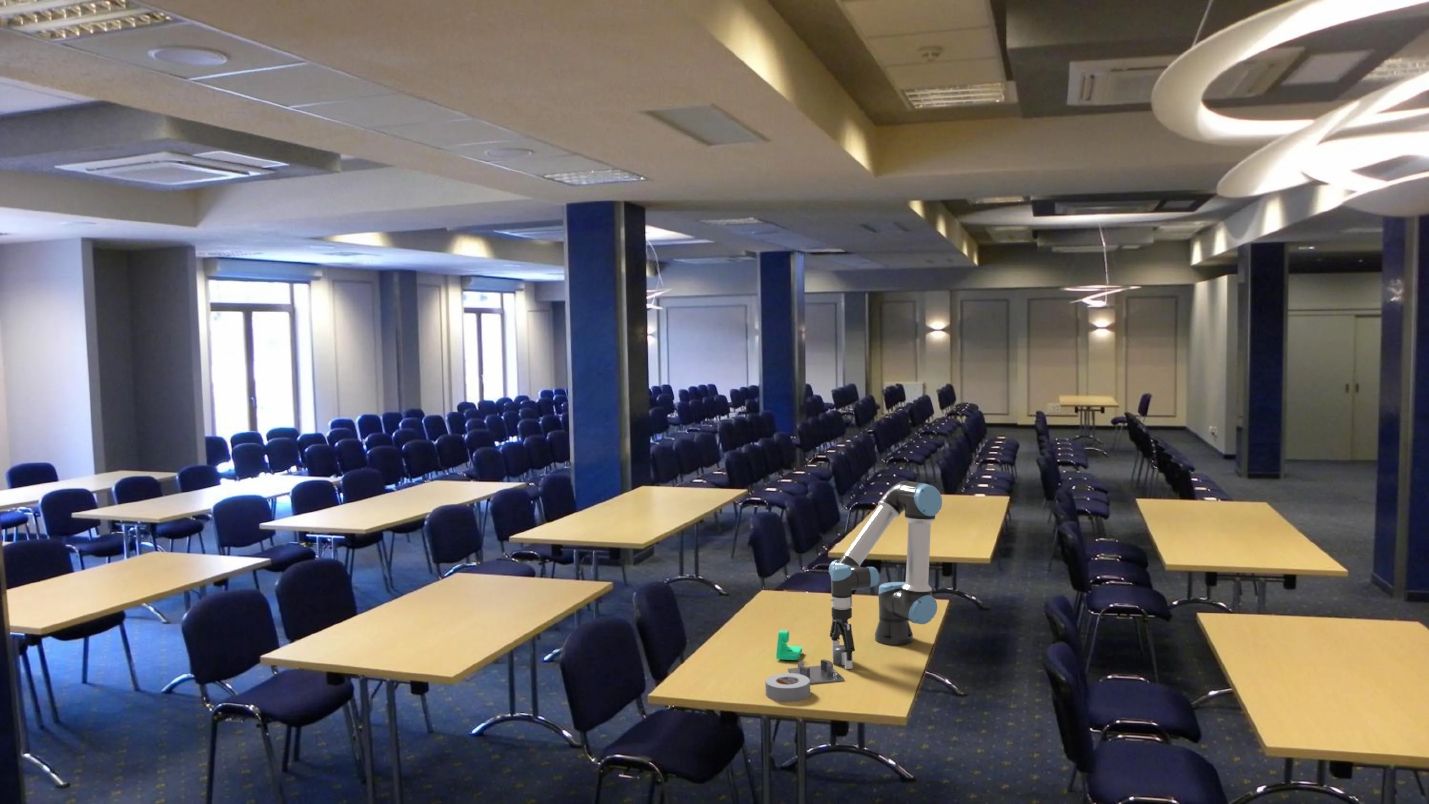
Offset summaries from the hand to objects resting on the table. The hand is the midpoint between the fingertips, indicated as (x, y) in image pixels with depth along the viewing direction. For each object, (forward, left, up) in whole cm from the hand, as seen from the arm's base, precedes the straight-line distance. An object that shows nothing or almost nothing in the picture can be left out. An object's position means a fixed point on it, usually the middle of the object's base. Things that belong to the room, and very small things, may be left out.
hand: (842, 663), depth 374 cm
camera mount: (+16, -13, -1) cm, 21 cm away
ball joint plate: (+14, +10, 0) cm, 17 cm away
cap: (0, 0, 0) cm, 0 cm away
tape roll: (+29, +25, -1) cm, 38 cm away
